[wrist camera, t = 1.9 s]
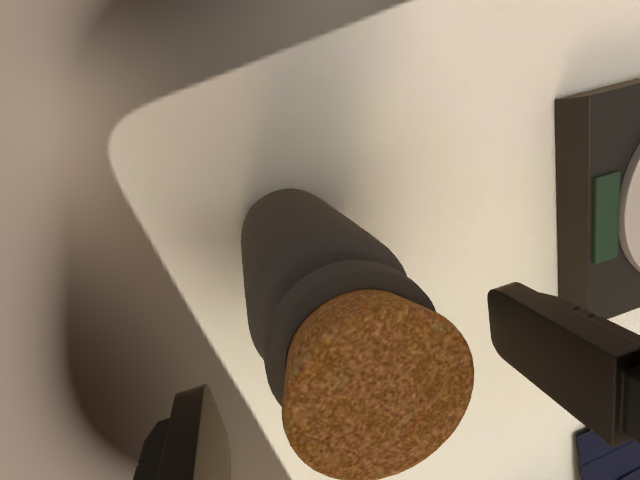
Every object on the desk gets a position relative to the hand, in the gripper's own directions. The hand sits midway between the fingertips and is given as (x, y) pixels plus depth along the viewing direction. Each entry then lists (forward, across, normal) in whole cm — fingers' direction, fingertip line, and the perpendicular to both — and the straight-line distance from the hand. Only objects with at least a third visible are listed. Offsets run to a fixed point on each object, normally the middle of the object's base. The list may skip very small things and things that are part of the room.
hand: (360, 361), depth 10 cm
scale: (+13, -27, +4) cm, 30 cm away
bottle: (+14, 0, 0) cm, 14 cm away
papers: (+14, -33, +39) cm, 53 cm away
